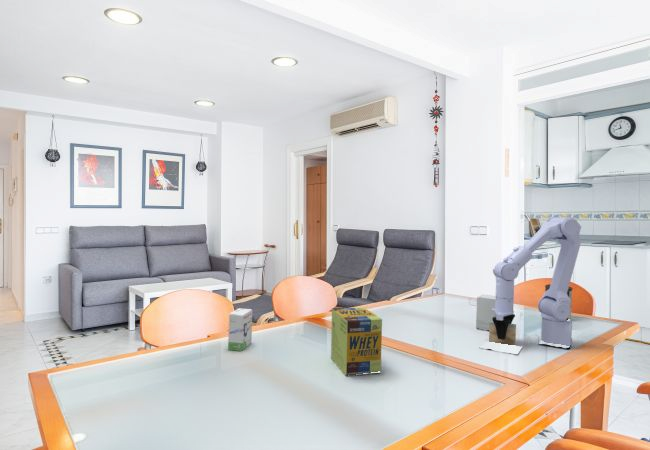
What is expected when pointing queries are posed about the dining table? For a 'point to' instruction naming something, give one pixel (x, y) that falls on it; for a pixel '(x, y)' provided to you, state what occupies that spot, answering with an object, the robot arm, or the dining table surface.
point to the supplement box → (485, 311)
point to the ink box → (240, 329)
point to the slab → (510, 334)
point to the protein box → (356, 340)
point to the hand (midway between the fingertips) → (503, 336)
